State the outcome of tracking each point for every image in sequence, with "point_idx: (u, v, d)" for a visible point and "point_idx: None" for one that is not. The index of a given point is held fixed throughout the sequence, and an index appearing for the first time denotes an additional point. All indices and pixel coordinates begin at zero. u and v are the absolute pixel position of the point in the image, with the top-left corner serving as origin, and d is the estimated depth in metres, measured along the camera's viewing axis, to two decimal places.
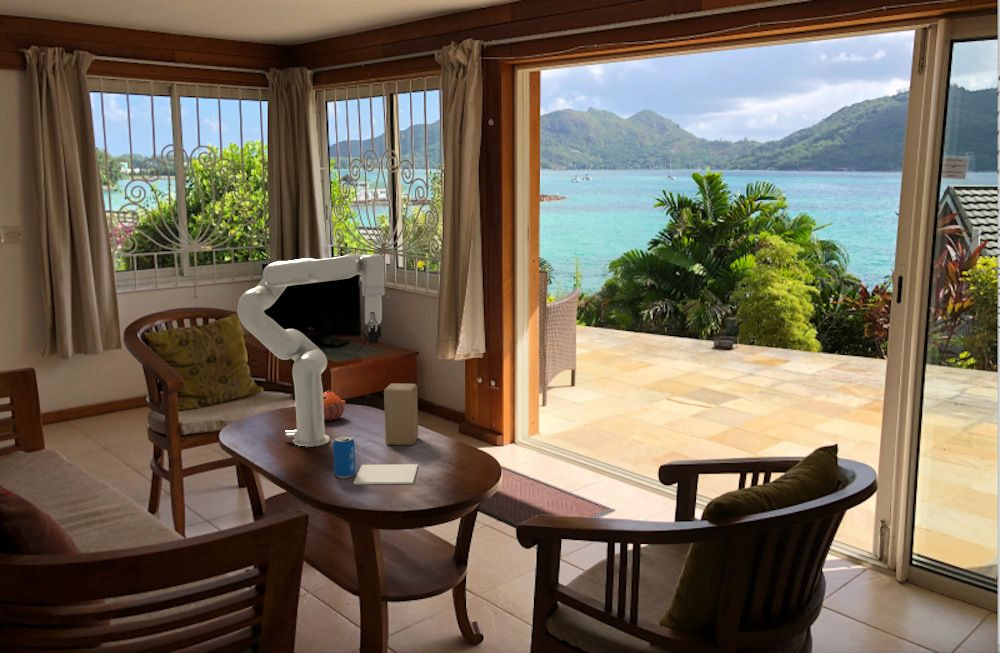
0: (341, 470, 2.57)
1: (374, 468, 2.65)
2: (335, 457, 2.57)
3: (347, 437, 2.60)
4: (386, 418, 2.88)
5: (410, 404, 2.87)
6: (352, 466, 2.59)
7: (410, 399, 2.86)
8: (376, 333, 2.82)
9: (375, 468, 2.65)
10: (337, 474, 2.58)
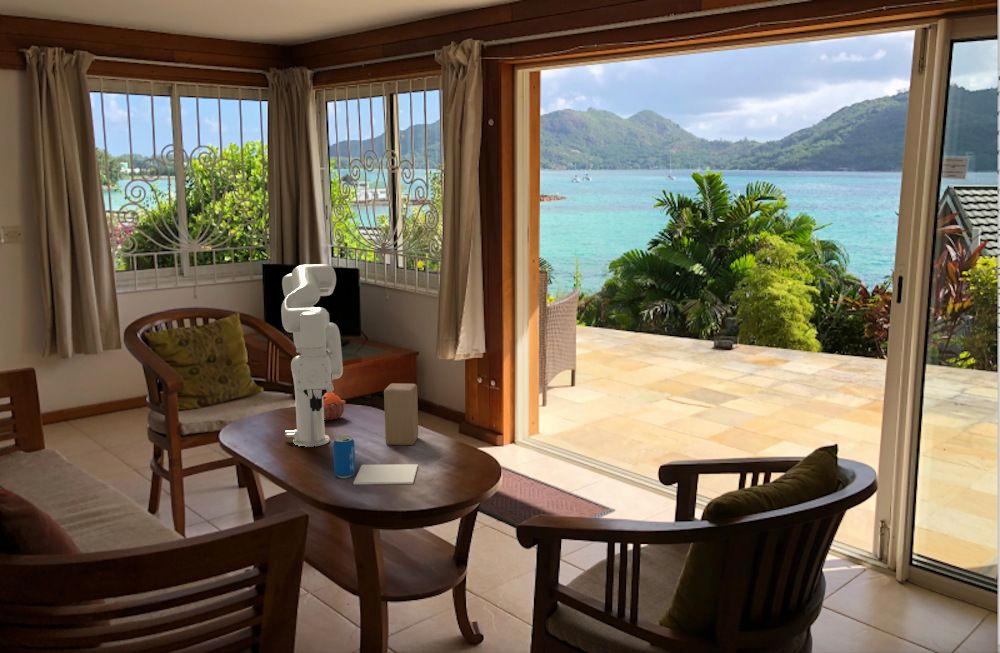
0: (341, 470, 2.57)
1: (374, 468, 2.65)
2: (335, 457, 2.57)
3: (347, 437, 2.60)
4: (386, 418, 2.88)
5: (410, 404, 2.87)
6: (352, 466, 2.59)
7: (410, 399, 2.86)
8: None
9: (375, 468, 2.65)
10: (337, 474, 2.58)
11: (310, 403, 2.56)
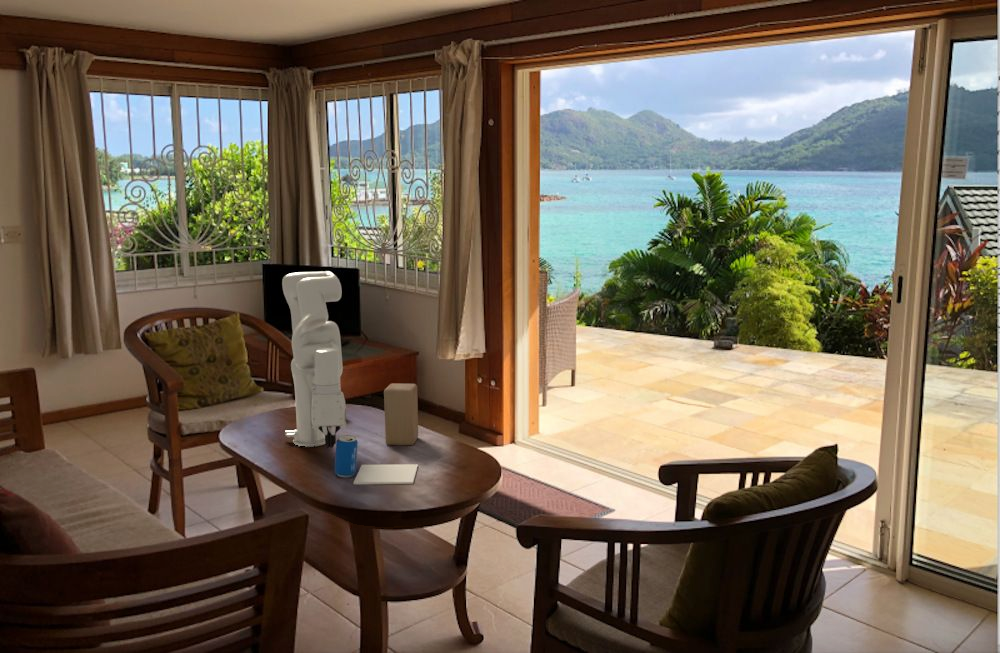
0: (341, 470, 2.57)
1: (374, 468, 2.65)
2: (337, 456, 2.57)
3: (351, 437, 2.60)
4: (386, 418, 2.88)
5: (410, 404, 2.87)
6: (353, 466, 2.58)
7: (410, 399, 2.86)
8: None
9: (375, 468, 2.65)
10: (337, 473, 2.58)
11: (325, 439, 2.57)
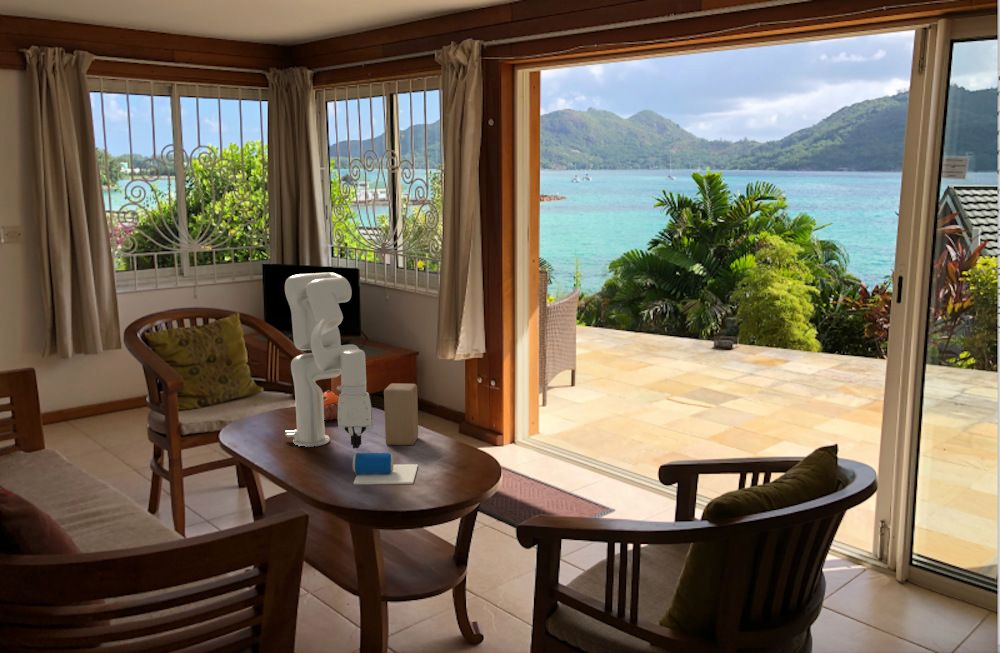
0: (360, 465, 2.57)
1: None
2: (373, 458, 2.58)
3: (392, 464, 2.62)
4: (386, 418, 2.88)
5: (410, 404, 2.87)
6: (365, 473, 2.59)
7: (410, 399, 2.86)
8: None
9: None
10: (356, 460, 2.57)
11: (351, 440, 2.58)
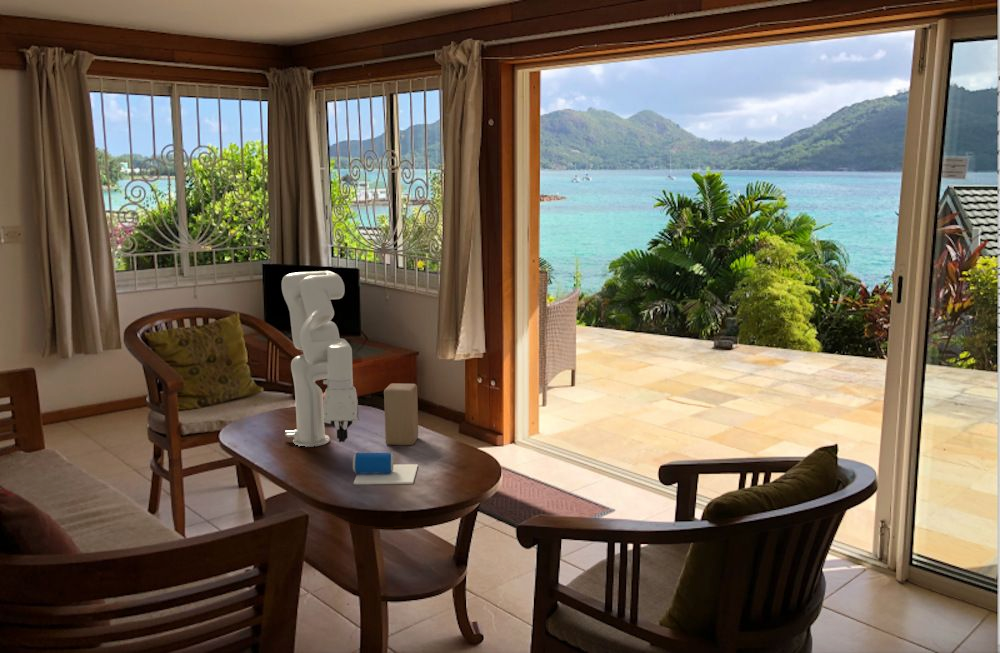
0: (360, 464, 2.57)
1: None
2: (374, 458, 2.58)
3: (392, 464, 2.62)
4: (386, 418, 2.88)
5: (410, 404, 2.87)
6: (365, 473, 2.59)
7: (410, 399, 2.86)
8: None
9: None
10: (356, 460, 2.57)
11: (337, 434, 2.59)
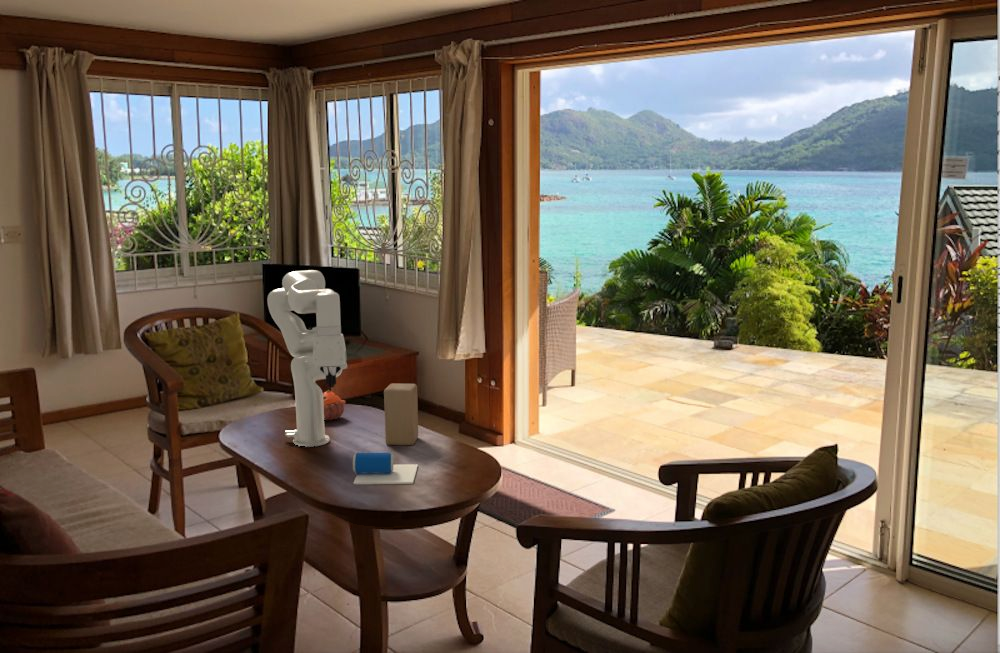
0: (360, 464, 2.57)
1: None
2: (374, 457, 2.58)
3: (392, 464, 2.62)
4: (386, 418, 2.88)
5: (410, 404, 2.87)
6: (365, 473, 2.59)
7: (410, 399, 2.86)
8: None
9: None
10: (356, 459, 2.57)
11: (326, 380, 2.69)
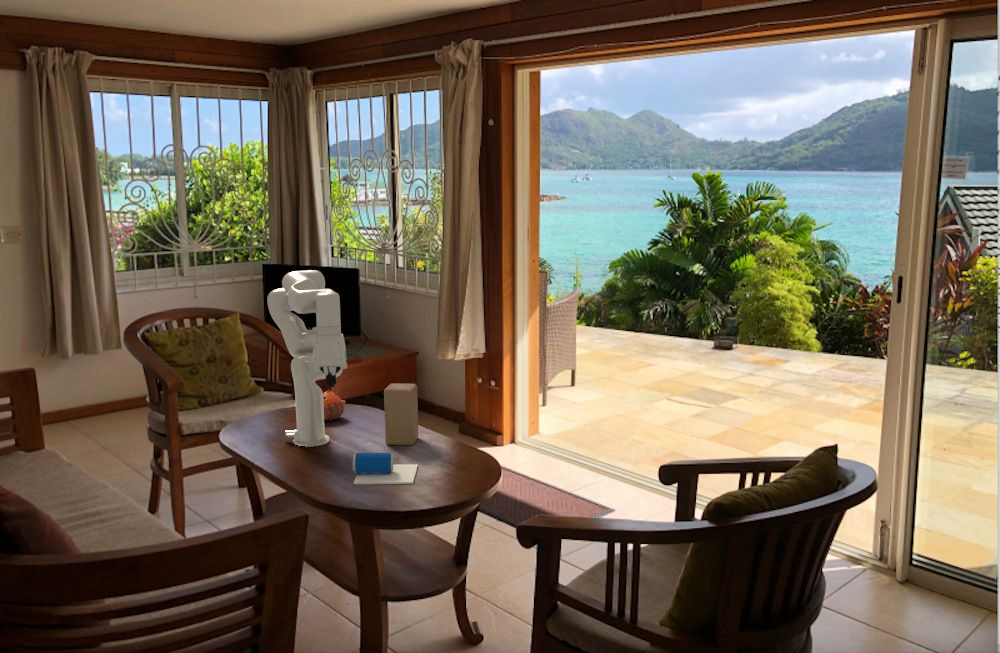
0: (360, 464, 2.57)
1: None
2: (374, 457, 2.58)
3: (392, 464, 2.62)
4: (386, 418, 2.88)
5: (410, 404, 2.87)
6: (365, 473, 2.59)
7: (410, 399, 2.86)
8: None
9: None
10: (356, 460, 2.57)
11: (326, 379, 2.69)
